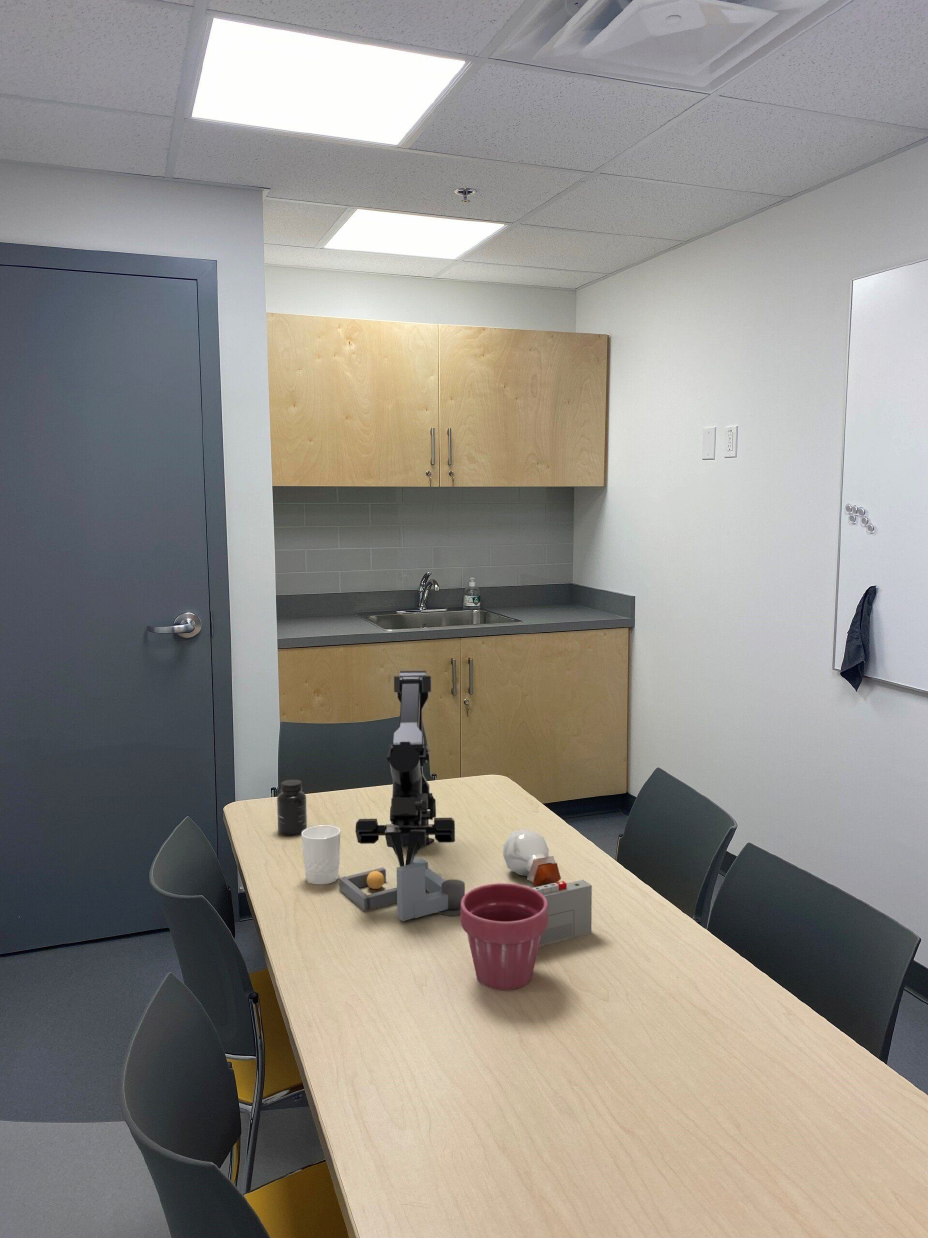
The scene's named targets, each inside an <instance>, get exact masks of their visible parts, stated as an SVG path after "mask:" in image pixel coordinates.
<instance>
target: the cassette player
mask: <svg viewBox="0 0 928 1238" xmlns="http://www.w3.org/2000/svg"><path fill="white" fill-rule="evenodd" d="M592 887H593V886H592V884H591V883H589V882H588V881H586V880H584V879H580V880H577V881H572V882H568V883H567V882H566V881H564V880H562V881H558V882H557V883H552V884H548V885H543V886H539V887H537V886H535V887H531V888H532V889H534V890H537V891H538V892H540V893H541V894H543V895H544V896H545V898H546V899H547V903H548V925H547V928H546V930H545V931H544V932H543V933H542V934H541V939H540V944H539V947H543V946H546V945H547V946H548V945H550V944H554V943H558V942H562V941H565V940H569V939H574V938H577V937H578V938H579V937H581V936H584V935H588V934H589V935H590V934H592V916H593V915H592V914H593V913H592V911H593V909H592V907H593V906H592V904H593V903H592V902H593V901H592V900H593V897H592V895H593V890H592V889H593V888H592Z"/></svg>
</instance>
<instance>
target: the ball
mask: <svg viewBox="0 0 928 1238" xmlns="http://www.w3.org/2000/svg"><path fill="white" fill-rule="evenodd" d="M384 883H385V881H384V876H383V874H382V873H380V872H378V871H373V872H371V873H370V874H369V875H368V877H367V884H368V886H367V887H369V888H370V889H373V890H378V889H380V888H382V887H383V885H384Z"/></svg>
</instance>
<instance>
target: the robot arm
mask: <svg viewBox="0 0 928 1238" xmlns="http://www.w3.org/2000/svg"><path fill="white" fill-rule="evenodd" d="M432 678H433V676H432V674H431V675H430V674H427V670H400V671H399V675H394V676H393V692H394V693H397V699H398V701H399V703H400V711H399V726H398V728H397V729H396V730H395V731H394V733H393V734H392V744H389V746H388V751H387V756H386V757H387V758H386V760H387V765H390V773H391V779H392V795H391V801H390V807H389V808H390V810H389V822H391V823H386V824H379V822H378V818H358V819H357V821H356V822H355V830H354V831H355V835H356V836H355V837H356V839H357V840H356V841H357V843H358V844H360V845H361V844H362V845H367V844H370V845H371V844H373V845H374V844H376V843H377V842H378V841H379V838H380V836H385V843H386V847H388V848H392V850H393V851H394V854H395V855H396V858H397V861H398V865H399V867H401V866H405V865H409V864H412V862H413V860H414V859H416V855H417V854H418V852H419V850H420V849H422V848H424V847H426V846H428V845H430V844H432V843H434V842H435V841H436V842H437V843H439V844H441V843H444V844H445V843H454V842H456V823H455V819H454V818H452V817H437V803H436V798H435V797H434V795H433V793H432V792H430V789H431V788H430V784H429V782H428V780H427V779H426V776H425V775H424V771H423V767H424V765H426V764H427V762H428V761H429V762H430V758H431V757H430V756H431V749H429V746H428V744H427V743H425V741H424V740H425V739H424V737H425V736H424V732H423V709H424V707H425V705H426V703H427V702H428V700H429V697H430V693H432V689H433V686H432V685H433V683H432V682H433V679H432ZM429 820H430V821H433V824H430V823H429ZM430 836H434V838H432V837H430ZM403 847H406V848H407V849H406V856H405V857H406V858H404V849H403Z"/></svg>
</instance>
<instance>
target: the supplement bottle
mask: <svg viewBox="0 0 928 1238" xmlns="http://www.w3.org/2000/svg"><path fill="white" fill-rule="evenodd" d="M302 790H303V786H302V780H300V779H287V780H284V781H282V782H280V793H279V794H278V795H277V798H276V807H277V808H276V810H277V812H276V813H277V832H278V833H279V834H280V835H282V836H286V837H293V836H294V837H295V836H296V837H297V836H300V835H302V831H303V830H305V829H307V828H308V819H307V818H308V814H307V811H308V810H307V809H308V808H307V796H306V794H305V792H304V791H302Z"/></svg>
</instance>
